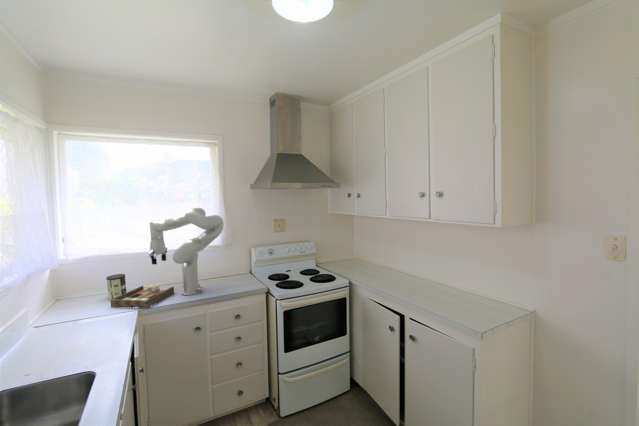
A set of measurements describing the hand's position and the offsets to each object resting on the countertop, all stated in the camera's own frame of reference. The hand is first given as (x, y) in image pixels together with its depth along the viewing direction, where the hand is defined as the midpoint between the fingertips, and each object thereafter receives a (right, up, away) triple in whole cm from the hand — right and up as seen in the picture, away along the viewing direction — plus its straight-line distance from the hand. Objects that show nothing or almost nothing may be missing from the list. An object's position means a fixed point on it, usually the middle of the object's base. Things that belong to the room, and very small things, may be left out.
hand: (159, 262), depth 201 cm
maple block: (-1, -19, -6) cm, 20 cm away
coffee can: (-24, -22, -7) cm, 33 cm away
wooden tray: (-2, -22, -14) cm, 26 cm away
